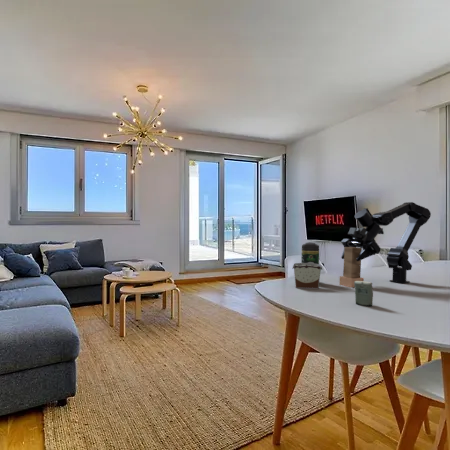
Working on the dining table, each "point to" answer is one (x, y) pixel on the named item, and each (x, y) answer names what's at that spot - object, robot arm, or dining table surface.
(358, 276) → the walnut block
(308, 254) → the coffee jar
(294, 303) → the dining table surface
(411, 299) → the dining table surface
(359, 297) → the grey-green rounded block
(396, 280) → the robot arm
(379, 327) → the dining table surface
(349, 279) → the terracotta block
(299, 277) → the food container
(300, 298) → the dining table surface
